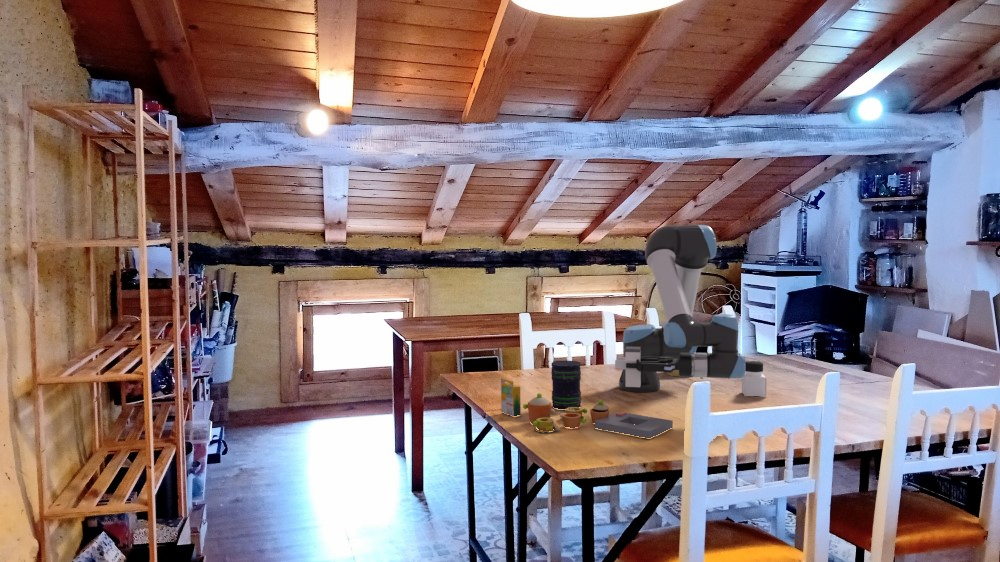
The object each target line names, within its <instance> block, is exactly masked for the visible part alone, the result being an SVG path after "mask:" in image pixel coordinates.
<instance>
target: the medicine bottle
mask: <svg viewBox="0 0 1000 562" xmlns="http://www.w3.org/2000/svg"><path fill="white" fill-rule="evenodd" d="M745 367H746V368H745V375H744V377H742V378H741V393H742V395H743V394H744V395H743V397H745V396H763V397H762V398H767V377H766V376H765V375H764V363H763V362H762V361H759V360H747V361H745ZM764 396H765V397H764Z"/></svg>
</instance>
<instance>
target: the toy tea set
mask: <svg viewBox="0 0 1000 562" xmlns="http://www.w3.org/2000/svg"><path fill="white" fill-rule="evenodd" d="M552 405H553V403H552V402H551V401H549V400H548V398H546V397H545V396H544V397H543V395H542V393H541V392H540V393H537V394H536V396H535V397H533V398H531V400H529V401H528V402H527V404H526V403H524V404H523V405H522V408H523V409H524V410H528V417H529V423H530V422H531V423H532V424H533V425H532V426H533V427H534V429H535V430H537V429H536V427H537V428H538V429H539V430H537V431H540V430H543V432H549V431H555V430H556V431H560V430H561V429H560V426H558V425H557V423H555V419H554V418H552V417H551V415H552V414H555V412H556V410H555V409H553V408H552ZM587 412H588V409H587V408H586V407H585V408H582V407H581V408H579V407H568V408H566V411H565V413H563V414H559V417H560V418H559V421H560V422H562V423H563V427H564V426H565V427H570V428H575V427H579V426H581V424H586V422H587V420H586V419H587V418H585V416H584V415H583V414H587ZM589 413H590V417H591V418H590V419H591V424H592V423H594V421H596V420H599V419H601V418H604V417H608V416H609V415H610V407H609V405H607V404H605V403H604V400H603V399H599V400H598V403H597V404H594V406H592V408H590V409H589ZM579 428H580V427H579ZM553 429H554V430H553ZM535 430H534V431H535ZM556 431H555V432H556Z"/></svg>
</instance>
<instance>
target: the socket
mask: <svg viewBox="0 0 1000 562" xmlns="http://www.w3.org/2000/svg"><path fill="white" fill-rule="evenodd" d="M673 421H674V420H671V419H666V418H659V417H655V416H654V417H653V416H647V415H641V414H636V413H630V412H626V411H625V412H624V411H617V412H615V413H612V414H609V416H608V417H604V418H601V419H599V420H596V421H594V423H595V425H594V429H595V428H598V429H602V430H608V431H614V432H619V433H624V434H630V435H634V436H639V437H645V438H651V437H653V436H656V435H658V434H660V433H662V432H664V431H666V430H668V429H670V428H673V425H674V424H673V423H674V422H673ZM634 424H635V425H634ZM673 429H674V428H673Z"/></svg>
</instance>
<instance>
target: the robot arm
mask: <svg viewBox="0 0 1000 562" xmlns="http://www.w3.org/2000/svg"><path fill="white" fill-rule="evenodd" d="M717 245H718V244H717V239H716V236H715V232H714V230H713V229H712V228H711V226H709V225H705V224H693V225H692V224H690V225H688V224H687V225H686V224H684V225H663V226H661V227H660V228H658V229H656V230H655V231H654V232H653V233H652V234H651V235H650V237H649V238H648V240H647V242H646V244H645V248H644V255H645V262H646V264H647V266H648V267H649V268H650V269H651V270H652V273H653V276H654V279H655V280H654V281H655V284H656V286H657V290H658V295H659V297H660V300H661V301H660V302H661V303H662V307H663V311H664V313H665V317H666V319H664V320H663V321H662V323H661V327H658V328H656V326H655V325H654V324H651V323H650V324H648V323H647V324H638V325H637V324H635V325H633V326H629V327H626V328H625V329H624V330H623V336H622V349H623V350H622V352H623V355H622V356H616V357H615V360H614V362H615V363H614V364H615V367H614V370H622V371H621V373H620V378H619V379H618V389H620V390H622V391H627V392H632V393H633V392H635V393H647V392H648V393H651V392H655V391H656V392H657V391H659V390H660V389H661V381H660V378H659V376H658V373H666V372H668V373H671V372H673V370H679V376H678V377H681V378H691V377H694V378H699V379H700V380H704V378H708V379H709V378H714V379H728V380H729V379H742V377H744V375H745V368H746V367H745V362H746V356H745V355H744V354H743V353H739V350H738V348H739V321H738V317H737V316H736V315H734V314H729V313H727V314H726V313H725V314H723V313H720V314H713V315H712V317H711V321H694V319H693V315H694V311H695V304H696V300H697V295H698V294H697V293H698V289H699V284H700V279H701V274H702V270H704V269H705V268H706V267H707V265H708V262H709V261H708V260H713V259H714V258H715V257H716V256H717V249H718V247H717ZM626 347H641V362H639V360H638V359H637V363H636V361H633V360H625V348H626ZM698 347H700V348H701V347H702V348H703V347H705V348H706V347H711V351H712V352H709V353H708V352H697V349H698ZM636 368H637V370H638V371H640V372H641V385H640V387H626V375H625V369H632V370H636ZM668 373H667V374H668ZM691 375H693V376H691Z"/></svg>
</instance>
